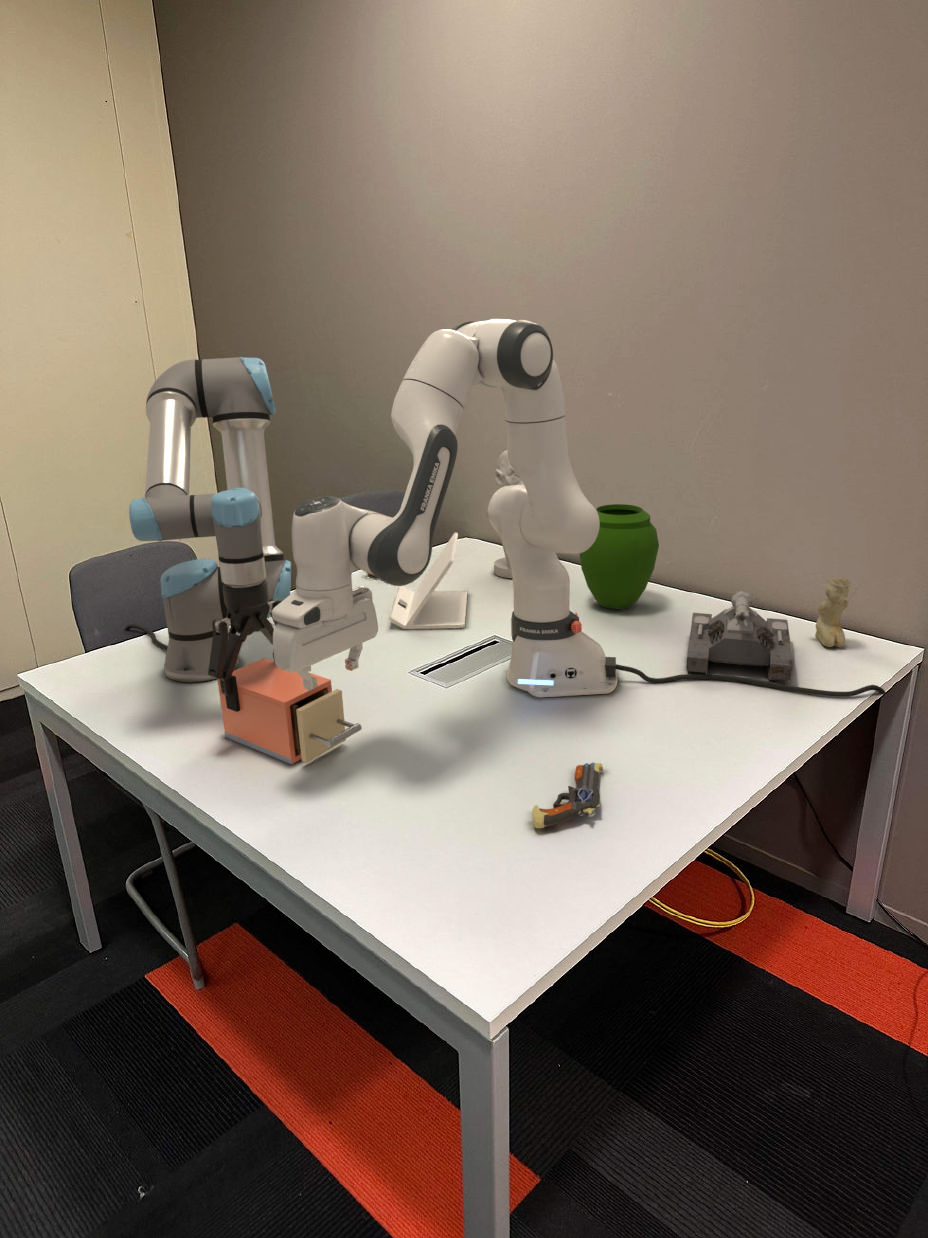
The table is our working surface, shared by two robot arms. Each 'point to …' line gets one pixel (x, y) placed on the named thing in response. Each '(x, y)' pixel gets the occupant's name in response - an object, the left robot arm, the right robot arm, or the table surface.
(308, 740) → the drawer
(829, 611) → the sculpture
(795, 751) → the table surface
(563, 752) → the table surface
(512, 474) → the bust sculpture
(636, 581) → the vase
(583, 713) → the table surface
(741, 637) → the toy
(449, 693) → the table surface
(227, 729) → the orange storage bin
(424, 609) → the tablet stand
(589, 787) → the toy gun
